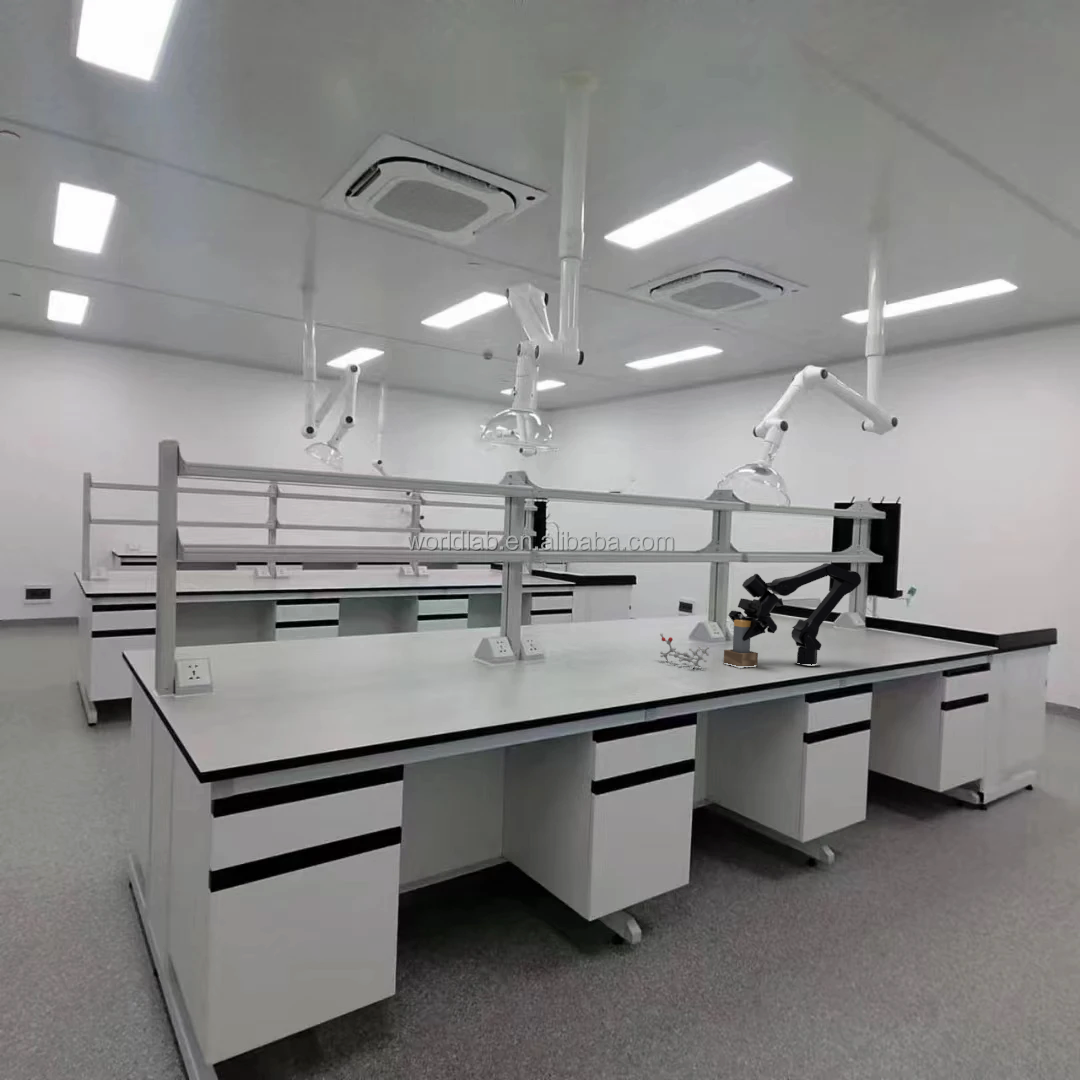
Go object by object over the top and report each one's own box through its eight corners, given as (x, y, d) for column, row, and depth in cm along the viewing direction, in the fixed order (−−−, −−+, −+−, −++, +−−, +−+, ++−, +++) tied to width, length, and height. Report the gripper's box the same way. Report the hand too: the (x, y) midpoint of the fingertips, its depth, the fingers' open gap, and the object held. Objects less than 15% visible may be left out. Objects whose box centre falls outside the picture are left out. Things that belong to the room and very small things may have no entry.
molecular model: (715, 670, 229) (716, 641, 228) (692, 675, 224) (693, 645, 223) (675, 657, 246) (676, 630, 245) (654, 661, 240) (654, 633, 240)
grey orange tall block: (741, 656, 241) (742, 619, 241) (749, 658, 237) (751, 621, 237) (732, 656, 239) (734, 619, 239) (740, 659, 236) (742, 621, 235)
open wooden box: (740, 662, 244) (741, 648, 244) (757, 667, 237) (757, 653, 237) (723, 664, 240) (724, 649, 240) (739, 668, 233) (740, 654, 233)
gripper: (733, 588, 248) (708, 619, 243) (772, 593, 231) (746, 627, 227) (748, 609, 252) (724, 640, 247) (788, 616, 235) (763, 649, 230)
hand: (738, 638), depth 238 cm, fingers closed on grey orange tall block, 4 cm apart
